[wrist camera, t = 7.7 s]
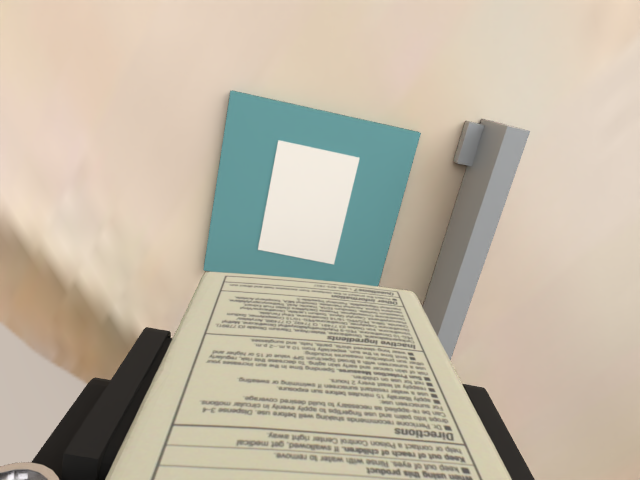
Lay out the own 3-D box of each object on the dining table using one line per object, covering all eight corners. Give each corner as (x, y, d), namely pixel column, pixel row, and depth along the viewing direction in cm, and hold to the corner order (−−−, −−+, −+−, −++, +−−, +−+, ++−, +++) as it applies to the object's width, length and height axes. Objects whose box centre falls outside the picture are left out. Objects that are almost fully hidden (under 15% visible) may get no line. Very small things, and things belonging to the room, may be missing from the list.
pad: (418, 131, 29) (421, 133, 28) (372, 298, 32) (373, 303, 32) (232, 90, 28) (230, 91, 27) (205, 266, 31) (203, 270, 31)
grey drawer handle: (515, 126, 29) (546, 134, 25) (437, 358, 34) (453, 395, 30) (467, 115, 28) (490, 122, 25) (395, 351, 34) (405, 386, 30)
